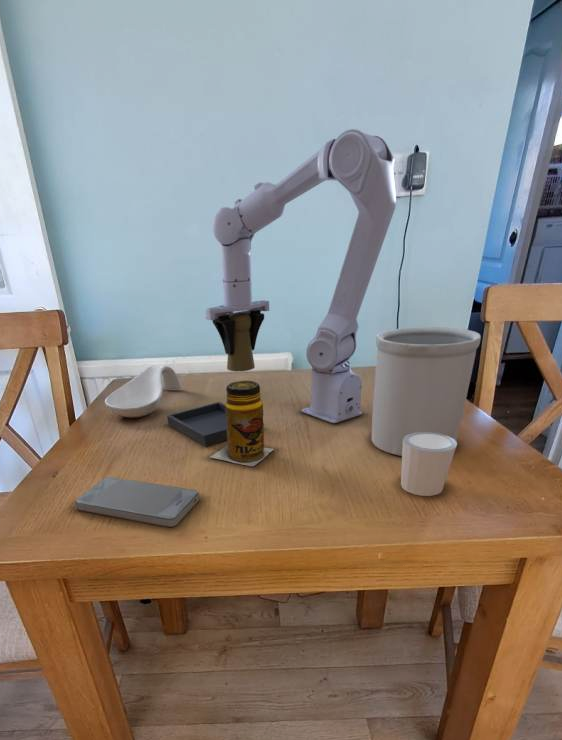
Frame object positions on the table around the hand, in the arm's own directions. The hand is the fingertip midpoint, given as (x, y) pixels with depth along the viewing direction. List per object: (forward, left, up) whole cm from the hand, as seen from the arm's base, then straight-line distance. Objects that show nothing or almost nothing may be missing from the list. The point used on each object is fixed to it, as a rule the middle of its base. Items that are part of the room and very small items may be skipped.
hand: (240, 351), depth 98 cm
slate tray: (-10, +14, -10) cm, 21 cm away
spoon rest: (+11, +18, -10) cm, 23 cm away
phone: (-29, +38, -10) cm, 49 cm away
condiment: (-24, +17, -10) cm, 32 cm away
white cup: (-50, +4, -10) cm, 52 cm away
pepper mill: (0, 0, -4) cm, 4 cm away
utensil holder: (-39, -8, -10) cm, 42 cm away
